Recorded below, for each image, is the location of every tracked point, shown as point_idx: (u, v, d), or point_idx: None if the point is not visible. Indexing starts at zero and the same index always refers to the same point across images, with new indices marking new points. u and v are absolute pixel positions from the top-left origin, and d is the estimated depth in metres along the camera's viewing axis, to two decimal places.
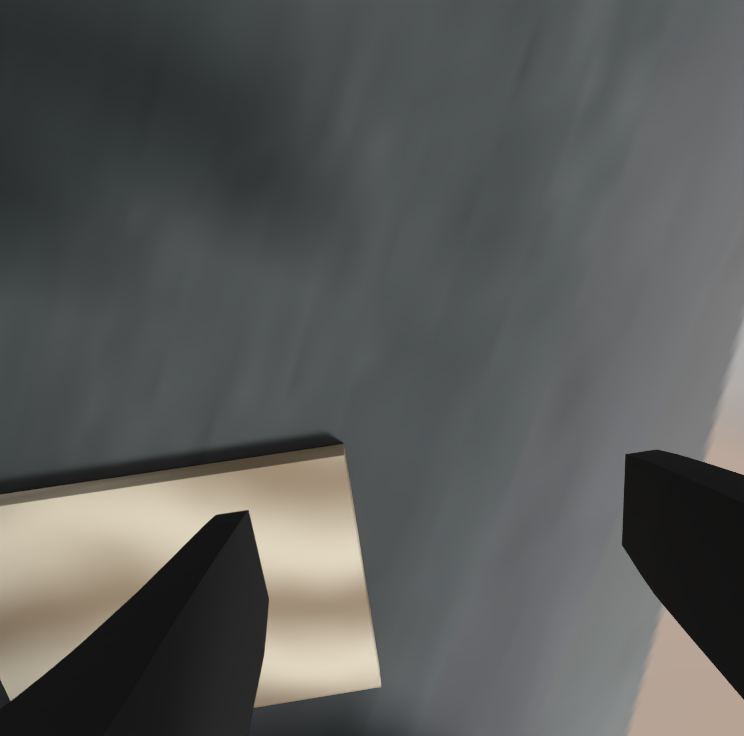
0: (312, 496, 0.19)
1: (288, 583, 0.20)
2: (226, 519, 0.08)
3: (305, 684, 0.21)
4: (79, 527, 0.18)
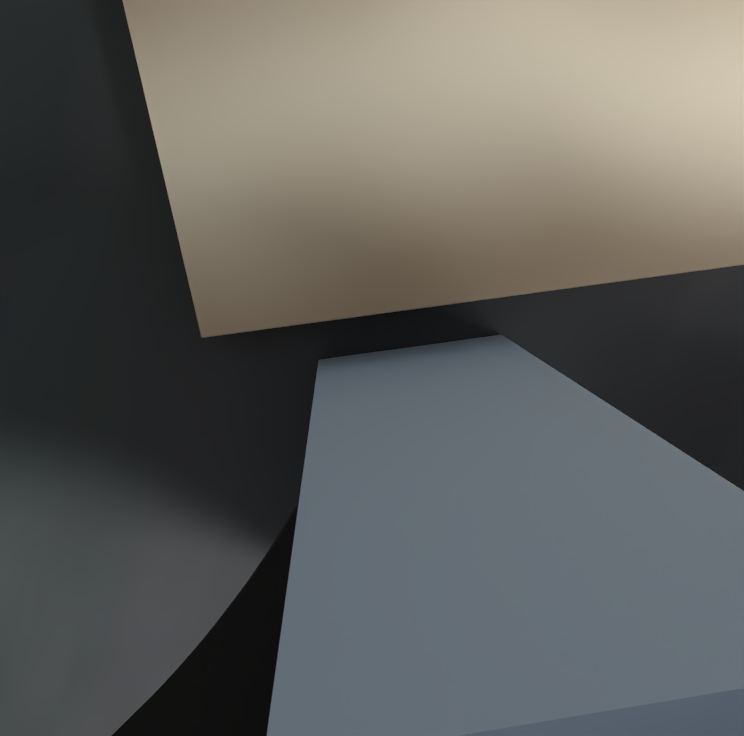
0: None
1: None
2: None
3: None
4: None
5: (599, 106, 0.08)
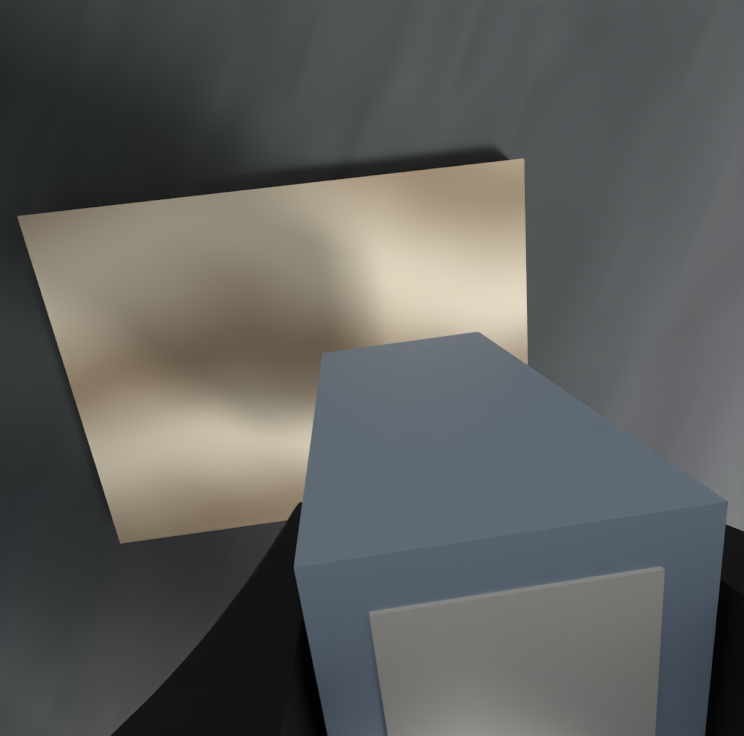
0: (480, 216, 0.16)
1: None
2: None
3: None
4: (202, 242, 0.15)
5: (304, 444, 0.17)
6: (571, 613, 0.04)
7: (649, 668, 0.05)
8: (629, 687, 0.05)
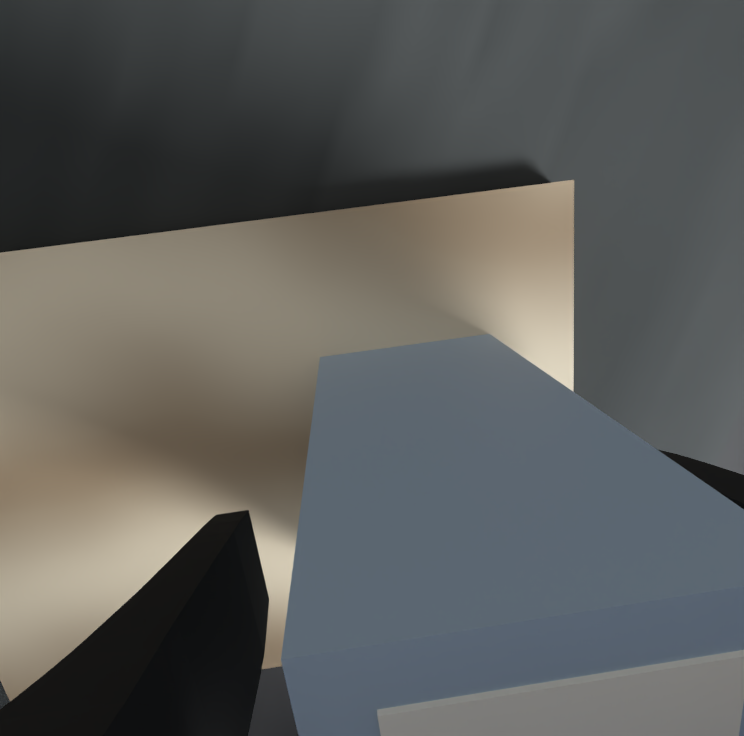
0: (508, 264, 0.11)
1: None
2: (226, 518, 0.08)
3: None
4: (98, 309, 0.10)
5: None
6: (630, 709, 0.04)
7: None
8: None
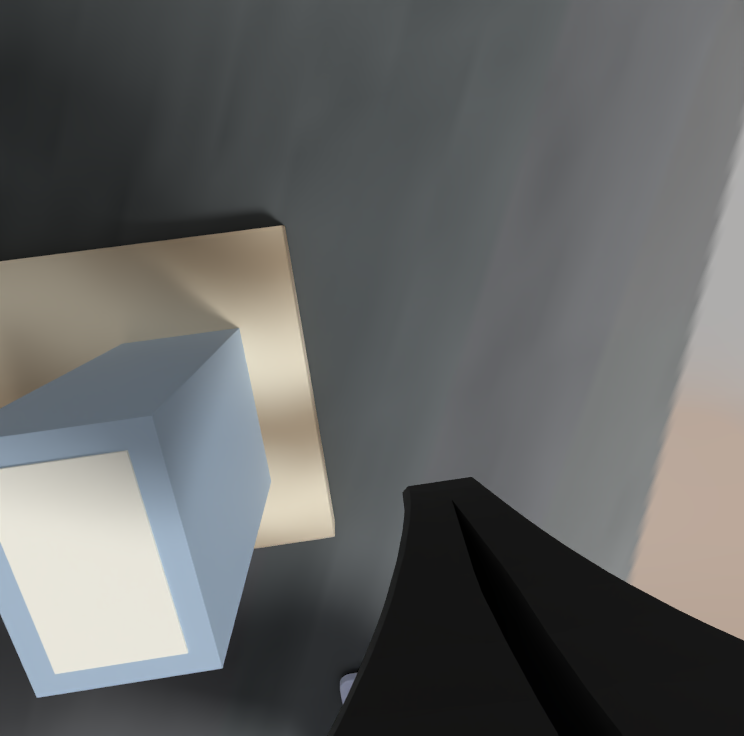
0: (245, 280, 0.16)
1: None
2: (427, 489, 0.08)
3: None
4: None
5: None
6: (83, 475, 0.09)
7: (142, 507, 0.09)
8: (134, 519, 0.09)
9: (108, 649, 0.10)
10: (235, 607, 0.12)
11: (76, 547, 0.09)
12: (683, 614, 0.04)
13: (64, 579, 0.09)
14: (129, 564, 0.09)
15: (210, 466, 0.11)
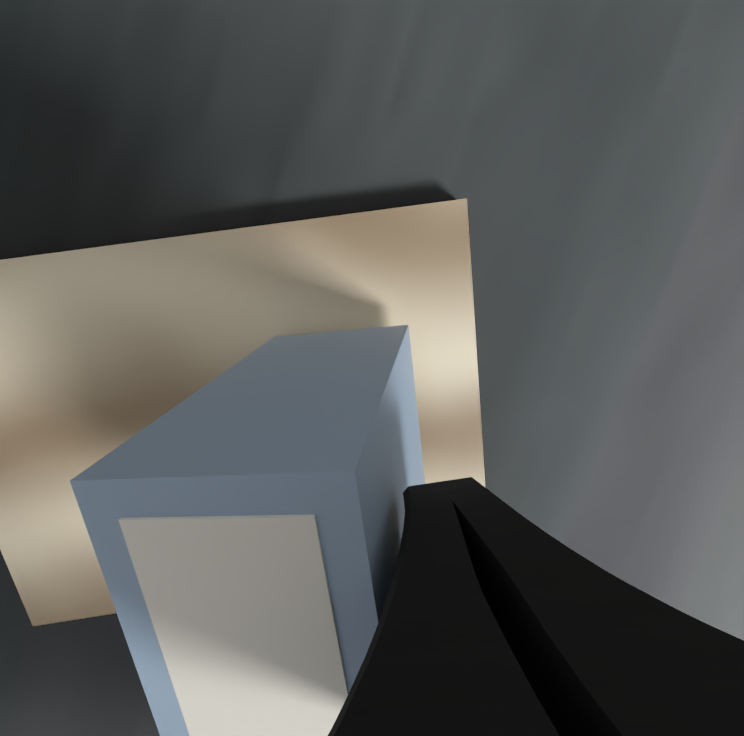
0: (419, 263, 0.14)
1: None
2: (428, 489, 0.08)
3: None
4: (100, 299, 0.13)
5: None
6: (253, 540, 0.06)
7: (325, 592, 0.06)
8: (313, 605, 0.06)
9: None
10: None
11: (237, 628, 0.07)
12: (683, 614, 0.04)
13: (219, 664, 0.07)
14: (302, 661, 0.07)
15: (394, 518, 0.08)
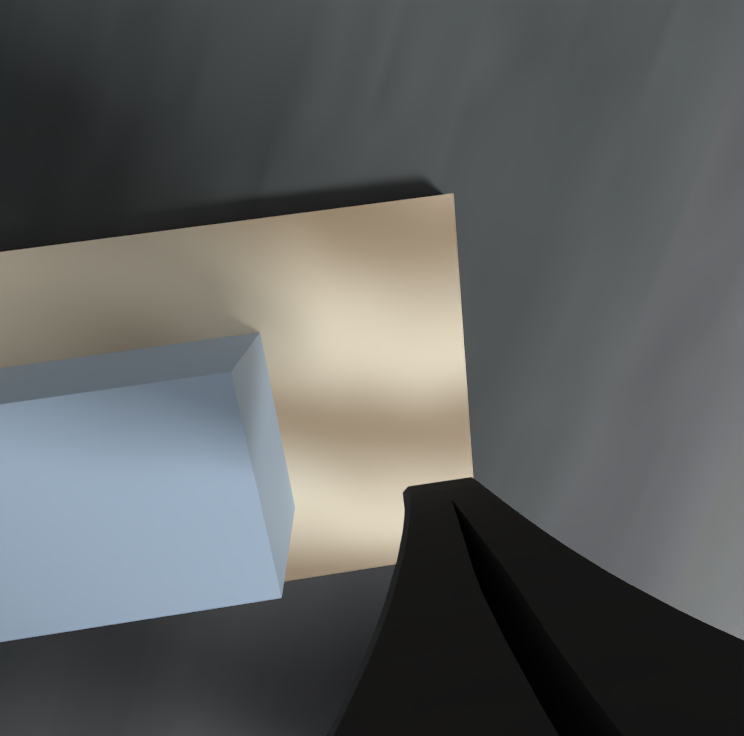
0: (406, 258, 0.14)
1: (366, 393, 0.15)
2: (428, 489, 0.08)
3: (381, 545, 0.16)
4: (85, 294, 0.13)
5: None
6: None
7: None
8: None
9: None
10: (18, 633, 0.12)
11: None
12: (683, 614, 0.04)
13: None
14: None
15: None
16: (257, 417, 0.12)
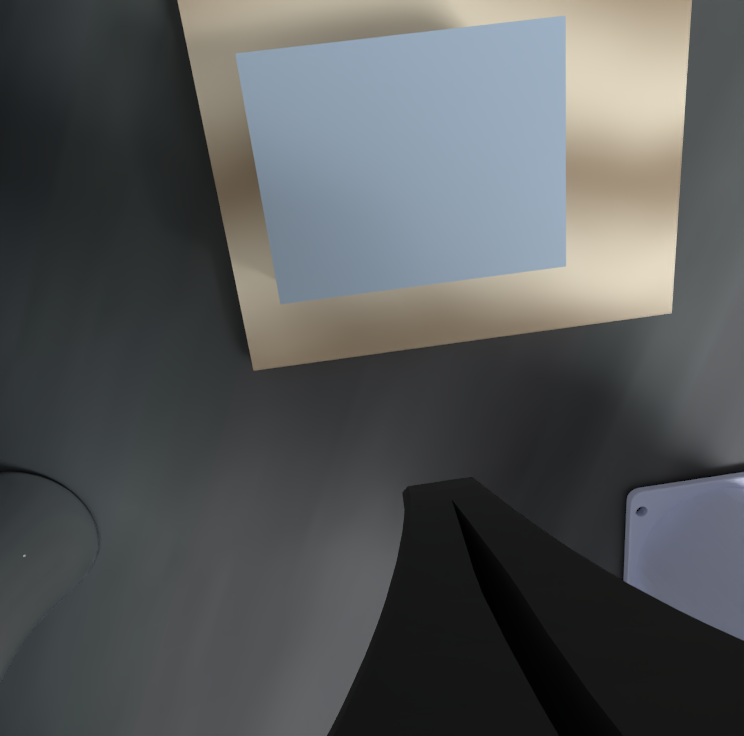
0: None
1: (593, 138, 0.16)
2: (427, 489, 0.08)
3: (585, 302, 0.18)
4: (361, 21, 0.15)
5: None
6: None
7: None
8: None
9: None
10: (335, 290, 0.13)
11: None
12: (683, 614, 0.04)
13: None
14: None
15: (339, 144, 0.12)
16: None
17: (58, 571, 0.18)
